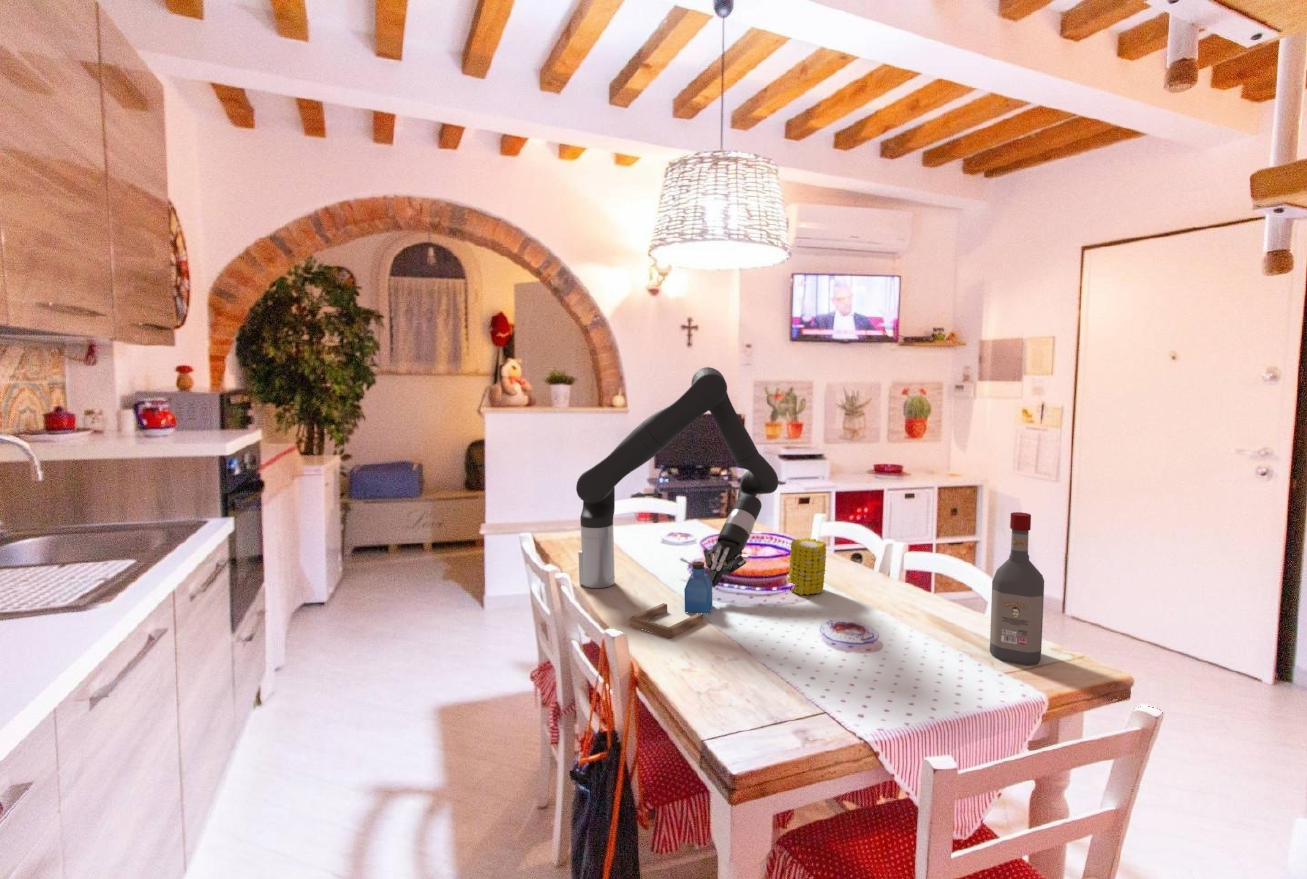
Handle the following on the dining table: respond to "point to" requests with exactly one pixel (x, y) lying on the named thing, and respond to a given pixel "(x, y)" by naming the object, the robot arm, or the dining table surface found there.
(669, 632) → the frame
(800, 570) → the food
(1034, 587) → the liquor
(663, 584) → the dining table surface
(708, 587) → the perfume bottle
